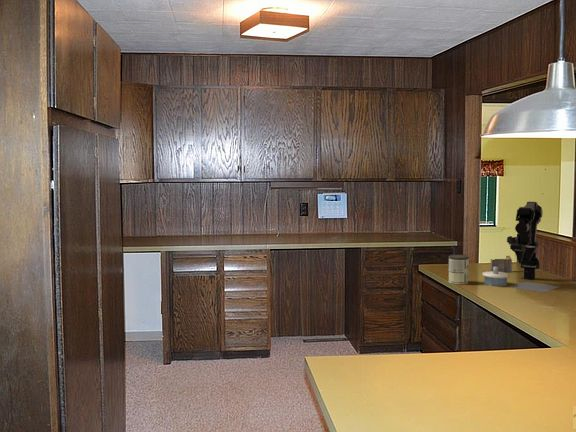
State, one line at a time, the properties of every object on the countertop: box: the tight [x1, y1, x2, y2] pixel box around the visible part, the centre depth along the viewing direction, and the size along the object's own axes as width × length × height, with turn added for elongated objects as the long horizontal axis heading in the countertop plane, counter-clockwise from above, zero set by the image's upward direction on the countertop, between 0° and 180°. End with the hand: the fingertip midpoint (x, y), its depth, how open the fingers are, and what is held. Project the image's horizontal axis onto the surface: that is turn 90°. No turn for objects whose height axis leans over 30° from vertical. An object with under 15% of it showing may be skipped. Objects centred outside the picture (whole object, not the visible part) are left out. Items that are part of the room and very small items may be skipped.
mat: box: [508, 281, 560, 293], centre depth 299 cm, size 18×18×1 cm
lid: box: [482, 267, 510, 279], centre depth 306 cm, size 13×13×4 cm
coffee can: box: [448, 254, 470, 285], centre depth 314 cm, size 10×10×14 cm
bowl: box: [483, 276, 508, 287], centre depth 307 cm, size 11×11×5 cm
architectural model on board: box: [490, 255, 513, 273], centre depth 342 cm, size 11×3×10 cm, turn 91°
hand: (524, 261), depth 305 cm, fingers open, 9 cm apart
